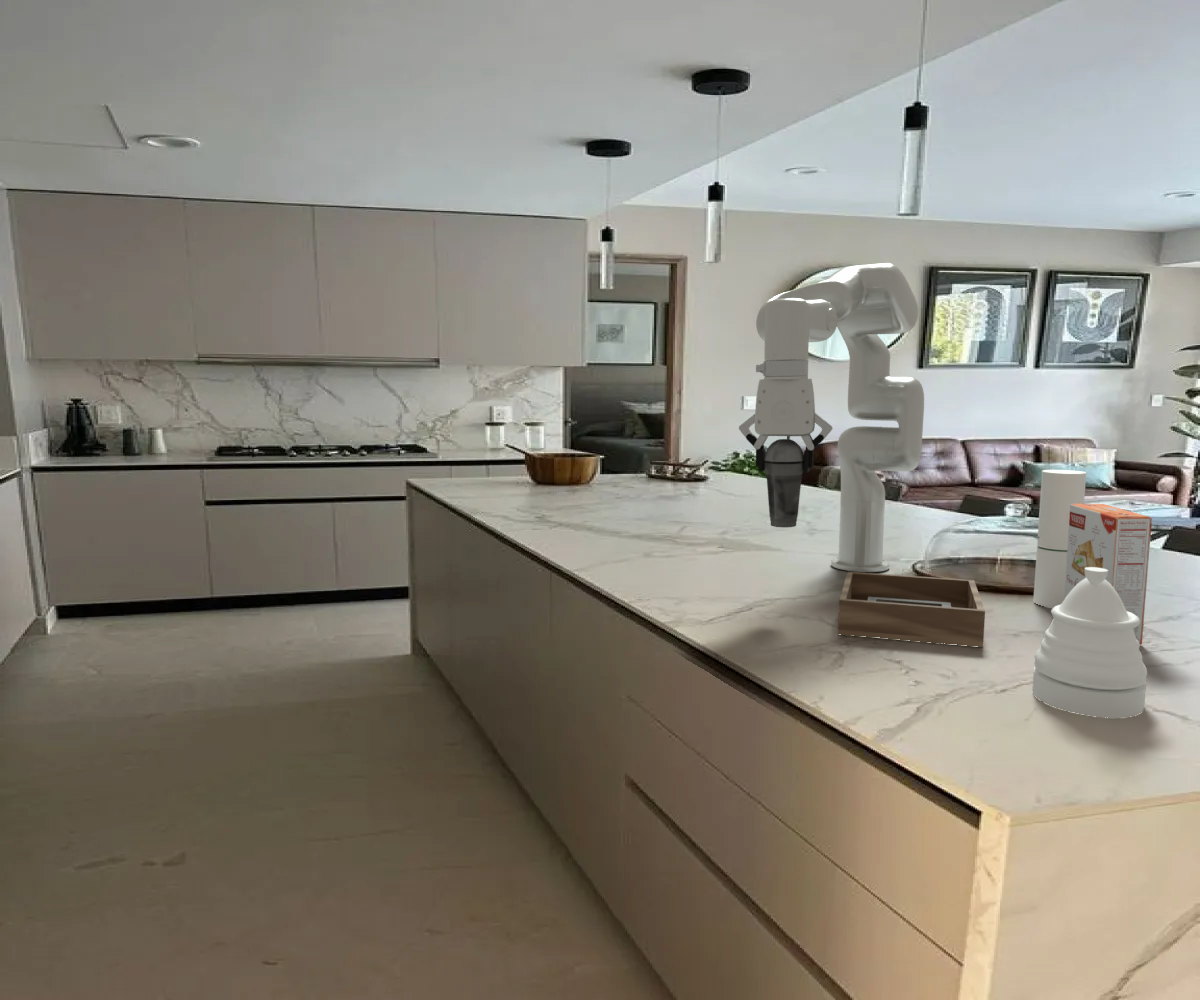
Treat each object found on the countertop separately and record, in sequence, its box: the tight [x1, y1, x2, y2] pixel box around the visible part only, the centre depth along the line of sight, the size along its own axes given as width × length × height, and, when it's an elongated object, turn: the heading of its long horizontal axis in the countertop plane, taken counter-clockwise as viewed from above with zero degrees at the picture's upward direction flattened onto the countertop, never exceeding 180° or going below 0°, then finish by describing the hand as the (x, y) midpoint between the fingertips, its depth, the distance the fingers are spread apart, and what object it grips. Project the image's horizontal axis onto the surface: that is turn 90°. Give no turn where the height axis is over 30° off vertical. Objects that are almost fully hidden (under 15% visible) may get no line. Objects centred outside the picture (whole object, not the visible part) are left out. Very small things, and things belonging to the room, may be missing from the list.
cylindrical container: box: [1033, 469, 1087, 609], centre depth 158 cm, size 7×7×25 cm
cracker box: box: [1064, 502, 1153, 646], centre depth 140 cm, size 14×6×21 cm, turn 178°
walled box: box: [837, 571, 986, 648], centre depth 147 cm, size 22×22×6 cm
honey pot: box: [1031, 567, 1148, 719], centre depth 111 cm, size 13×13×18 cm
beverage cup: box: [764, 436, 804, 528], centre depth 151 cm, size 7×7×20 cm
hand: (784, 470), depth 151 cm, fingers closed on beverage cup, 7 cm apart
